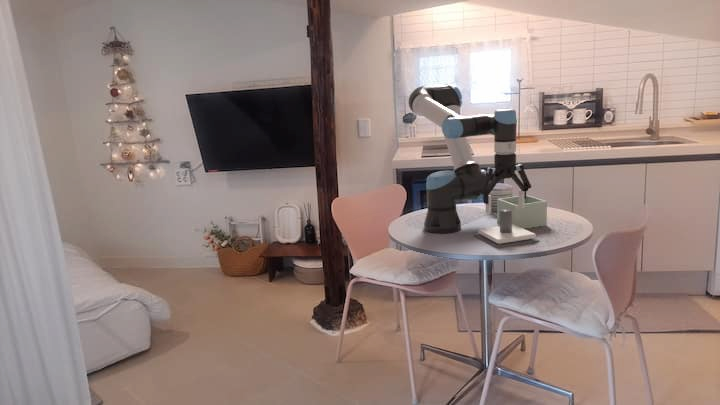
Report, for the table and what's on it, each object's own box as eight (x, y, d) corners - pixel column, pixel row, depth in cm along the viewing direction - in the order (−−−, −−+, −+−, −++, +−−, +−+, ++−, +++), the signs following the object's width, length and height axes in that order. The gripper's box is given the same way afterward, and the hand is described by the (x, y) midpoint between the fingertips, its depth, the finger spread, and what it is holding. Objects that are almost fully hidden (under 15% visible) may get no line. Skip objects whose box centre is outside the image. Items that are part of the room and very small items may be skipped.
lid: (498, 245, 173) (497, 217, 171) (478, 235, 188) (477, 209, 185) (535, 240, 177) (535, 212, 175) (512, 229, 191) (512, 204, 189)
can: (500, 206, 231) (500, 181, 229) (518, 210, 221) (518, 184, 219) (481, 210, 226) (481, 185, 224) (499, 214, 216) (498, 188, 214)
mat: (496, 248, 172) (496, 246, 172) (474, 235, 188) (474, 234, 188) (539, 241, 176) (539, 240, 176) (513, 230, 192) (513, 228, 192)
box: (515, 230, 192) (515, 205, 190) (497, 222, 205) (497, 198, 203) (546, 225, 195) (547, 201, 193) (526, 217, 208) (526, 195, 206)
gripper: (478, 157, 169) (479, 216, 174) (541, 150, 175) (540, 208, 180) (468, 155, 176) (469, 211, 181) (529, 148, 182) (528, 203, 187)
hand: (504, 210), depth 180 cm, fingers open, 13 cm apart
